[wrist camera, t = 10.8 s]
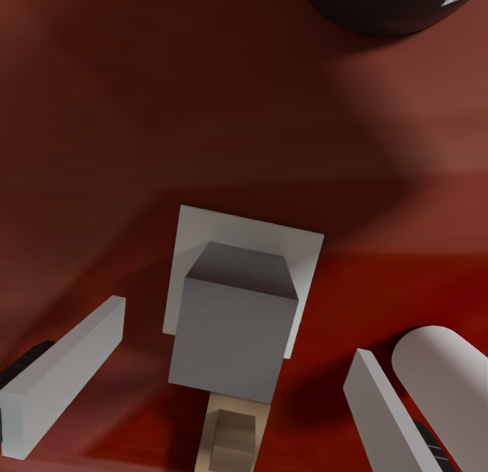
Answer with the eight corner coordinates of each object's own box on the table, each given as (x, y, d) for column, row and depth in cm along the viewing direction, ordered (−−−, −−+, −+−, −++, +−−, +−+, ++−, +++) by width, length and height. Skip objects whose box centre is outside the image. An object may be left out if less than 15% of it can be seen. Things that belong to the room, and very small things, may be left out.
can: (375, 368, 25) (480, 539, 13) (414, 311, 23) (571, 448, 12) (435, 394, 25) (589, 584, 14) (477, 340, 24) (691, 501, 12)
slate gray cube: (209, 241, 22) (184, 277, 15) (284, 256, 22) (299, 300, 15) (196, 314, 24) (167, 382, 16) (266, 329, 24) (270, 403, 16)
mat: (182, 204, 22) (180, 205, 22) (323, 234, 22) (324, 235, 22) (163, 330, 25) (162, 332, 25) (289, 356, 25) (289, 359, 25)
